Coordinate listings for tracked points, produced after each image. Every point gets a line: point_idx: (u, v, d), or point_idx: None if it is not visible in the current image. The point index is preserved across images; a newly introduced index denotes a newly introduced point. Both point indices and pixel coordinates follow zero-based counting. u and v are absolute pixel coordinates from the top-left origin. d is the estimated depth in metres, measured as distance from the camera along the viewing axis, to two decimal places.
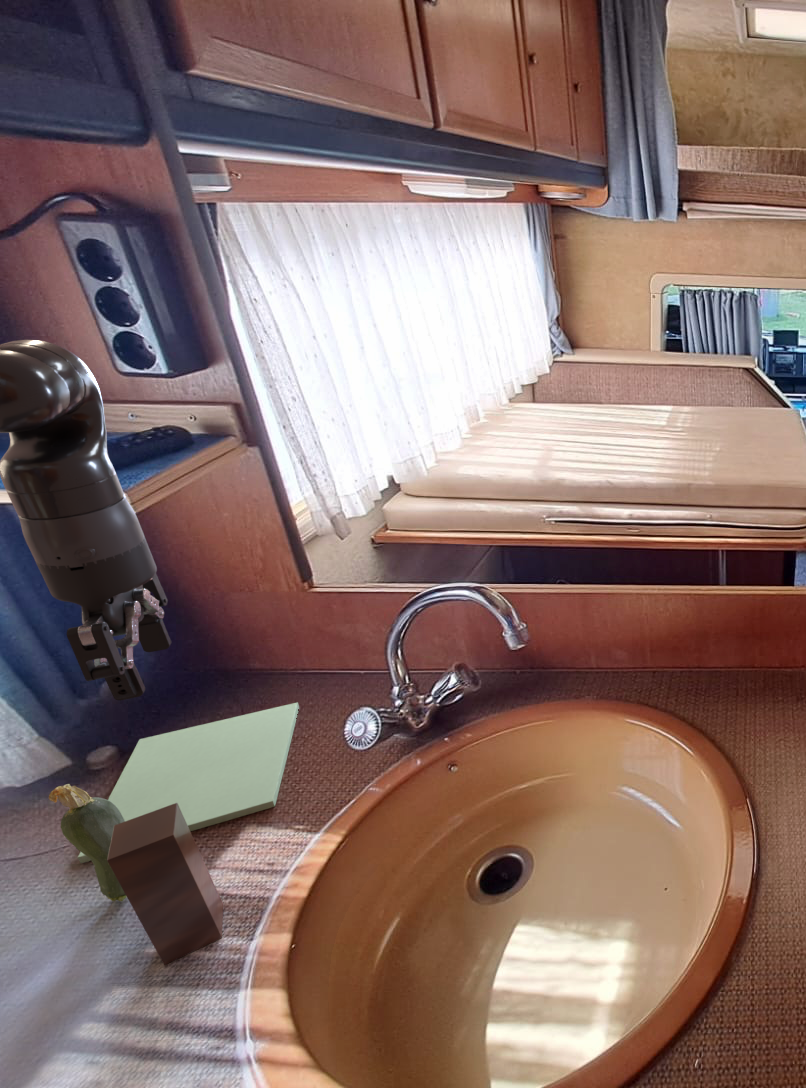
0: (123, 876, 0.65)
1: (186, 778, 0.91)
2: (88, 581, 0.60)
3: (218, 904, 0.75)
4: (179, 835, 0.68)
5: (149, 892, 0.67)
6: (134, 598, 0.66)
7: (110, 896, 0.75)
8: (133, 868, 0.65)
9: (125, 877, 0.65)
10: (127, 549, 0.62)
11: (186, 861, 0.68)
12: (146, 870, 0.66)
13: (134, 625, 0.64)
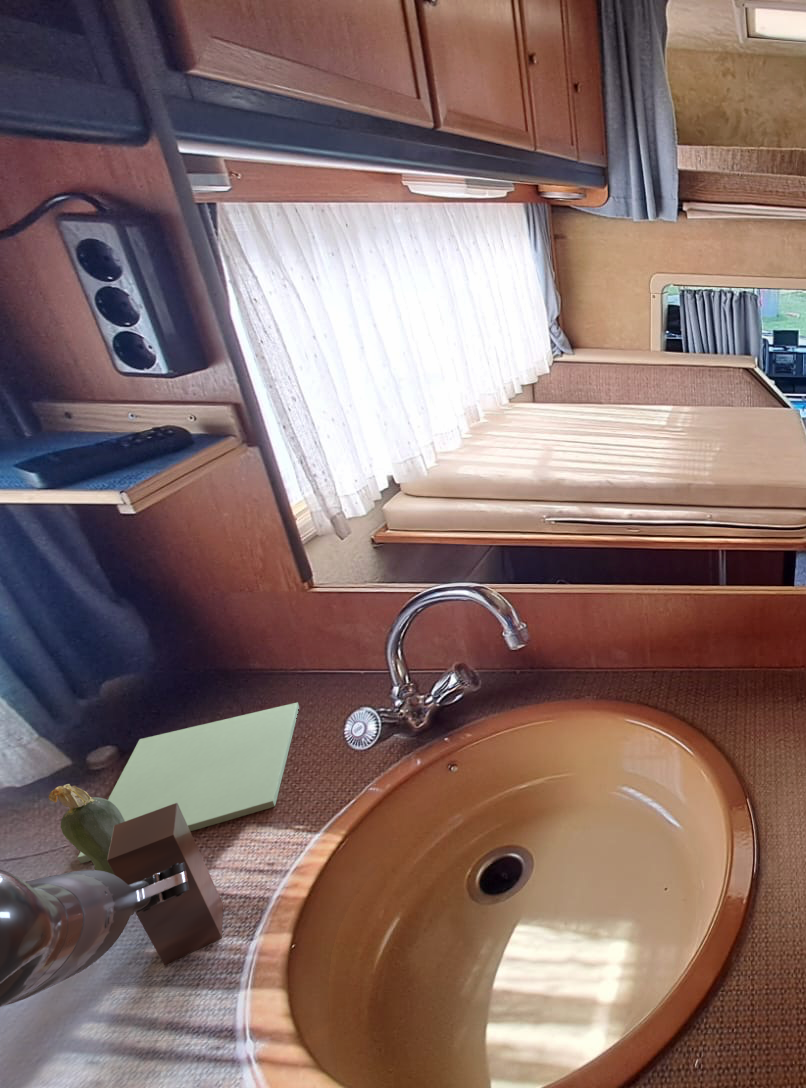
0: (123, 876, 0.65)
1: (186, 778, 0.91)
2: None
3: (218, 904, 0.75)
4: (179, 835, 0.68)
5: None
6: None
7: None
8: (133, 868, 0.65)
9: (125, 877, 0.65)
10: None
11: (186, 861, 0.68)
12: (146, 870, 0.66)
13: None
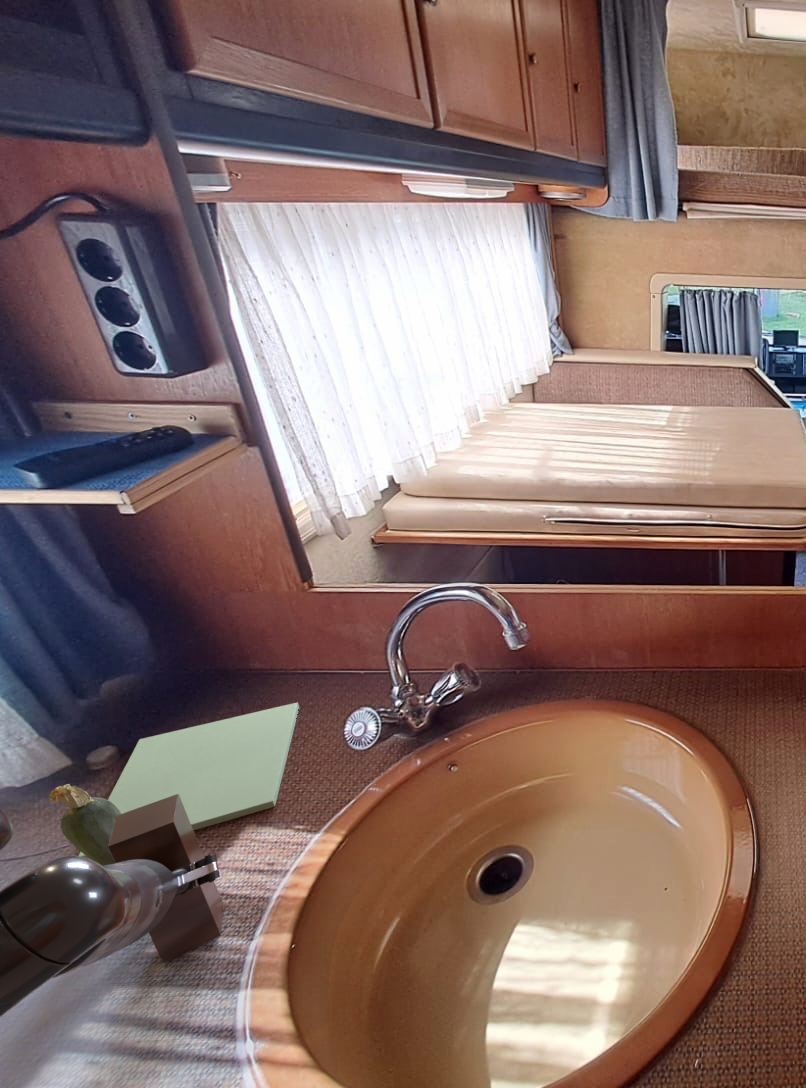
0: None
1: (186, 778, 0.91)
2: None
3: (218, 902, 0.75)
4: (179, 824, 0.69)
5: None
6: None
7: None
8: (133, 856, 0.66)
9: None
10: None
11: (186, 851, 0.69)
12: (146, 858, 0.67)
13: None
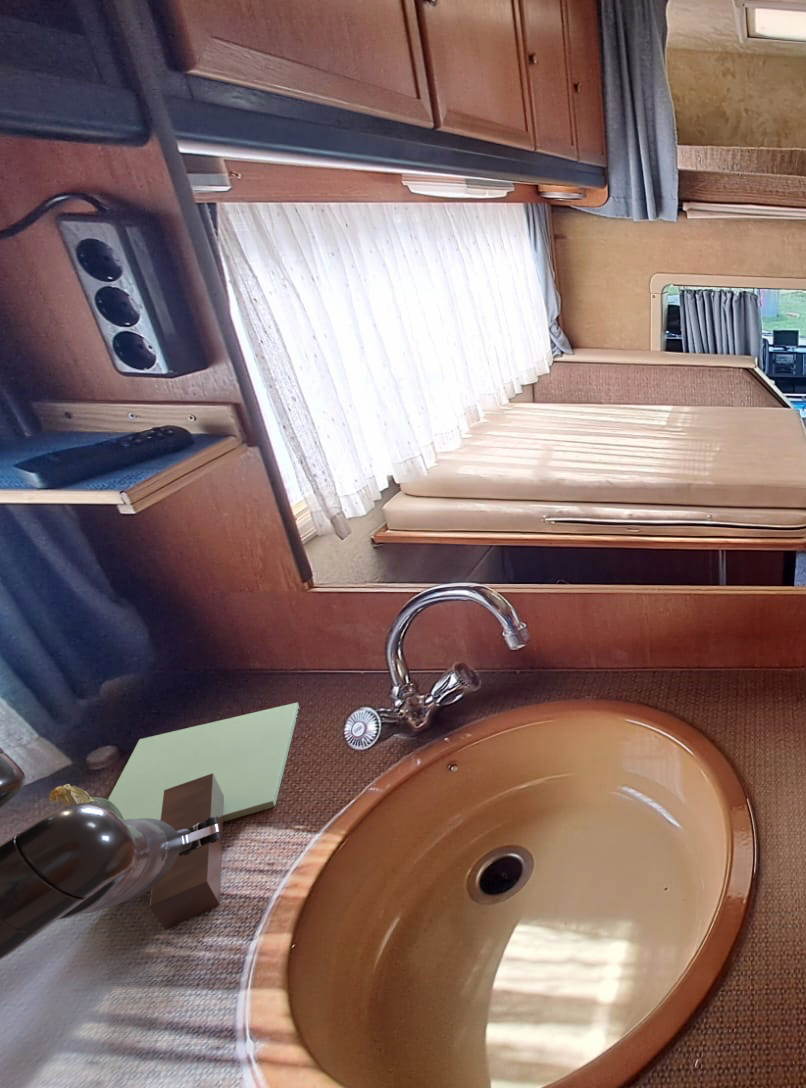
0: (166, 804, 0.82)
1: (186, 778, 0.91)
2: None
3: (216, 885, 0.77)
4: (215, 788, 0.86)
5: (175, 821, 0.80)
6: None
7: None
8: (176, 798, 0.83)
9: (167, 805, 0.82)
10: None
11: (211, 797, 0.84)
12: (183, 800, 0.83)
13: None
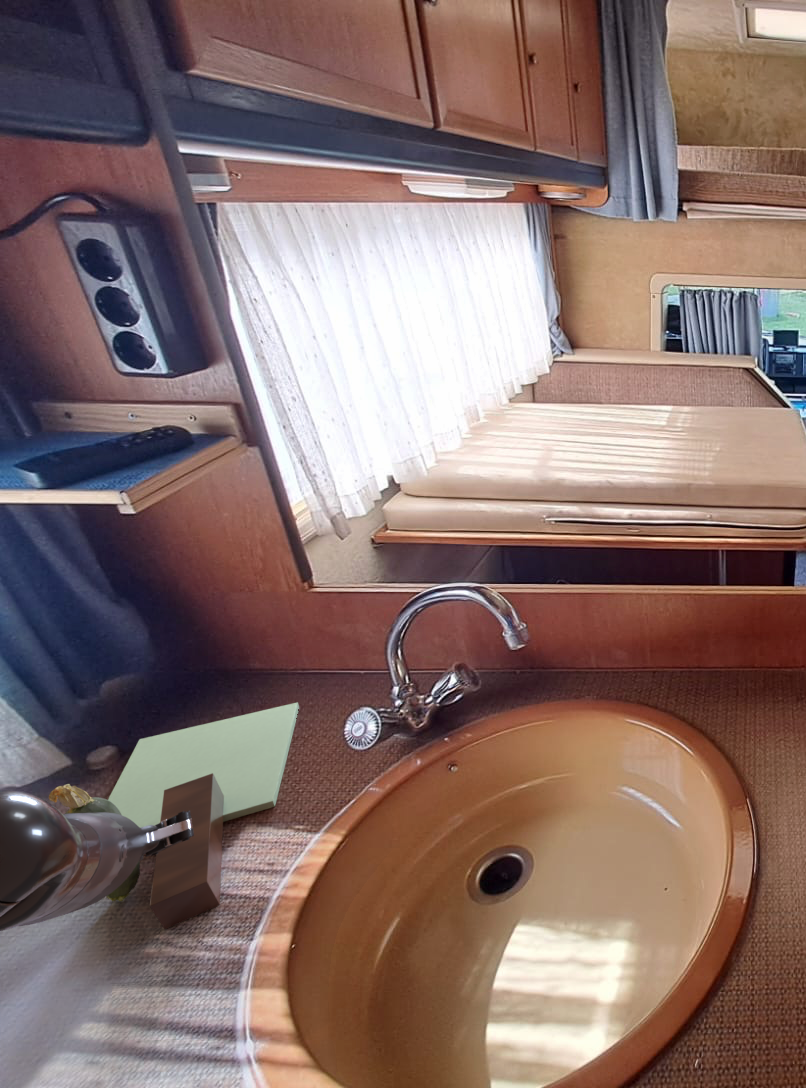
0: (166, 804, 0.82)
1: (186, 778, 0.91)
2: None
3: (216, 885, 0.77)
4: (215, 788, 0.86)
5: None
6: None
7: (110, 896, 0.75)
8: (176, 798, 0.83)
9: (167, 805, 0.82)
10: None
11: (211, 797, 0.84)
12: (183, 800, 0.83)
13: None
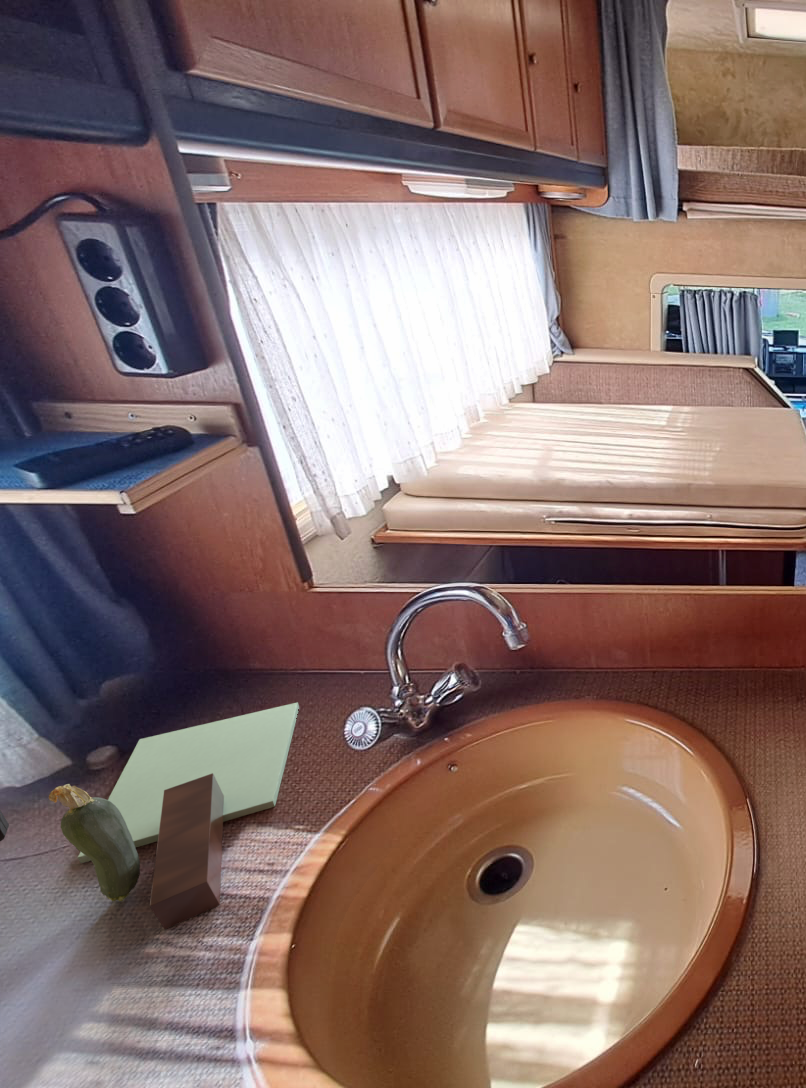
0: (166, 804, 0.82)
1: (186, 778, 0.91)
2: None
3: (216, 885, 0.77)
4: (215, 788, 0.86)
5: (175, 821, 0.80)
6: None
7: (110, 896, 0.75)
8: (176, 798, 0.83)
9: (167, 805, 0.82)
10: None
11: (211, 797, 0.84)
12: (183, 800, 0.83)
13: None
